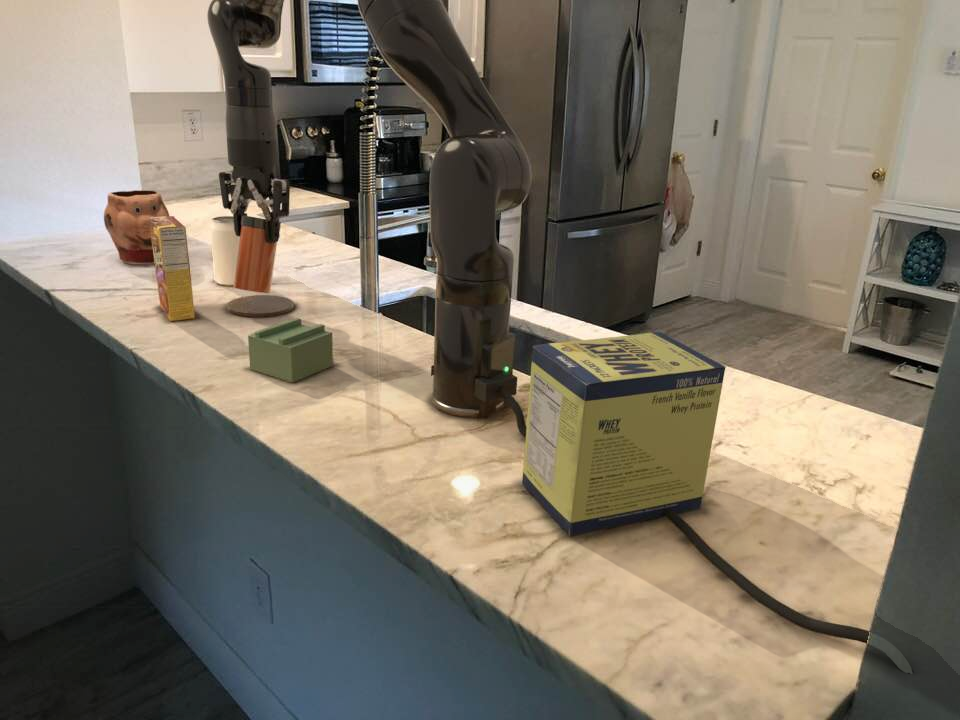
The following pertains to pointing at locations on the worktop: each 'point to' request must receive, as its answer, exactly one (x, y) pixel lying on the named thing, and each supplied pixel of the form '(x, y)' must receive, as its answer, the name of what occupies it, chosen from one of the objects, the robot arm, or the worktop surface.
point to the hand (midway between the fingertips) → (257, 238)
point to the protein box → (619, 429)
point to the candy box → (172, 267)
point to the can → (224, 250)
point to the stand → (291, 350)
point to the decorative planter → (133, 223)
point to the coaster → (260, 306)
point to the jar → (254, 257)
